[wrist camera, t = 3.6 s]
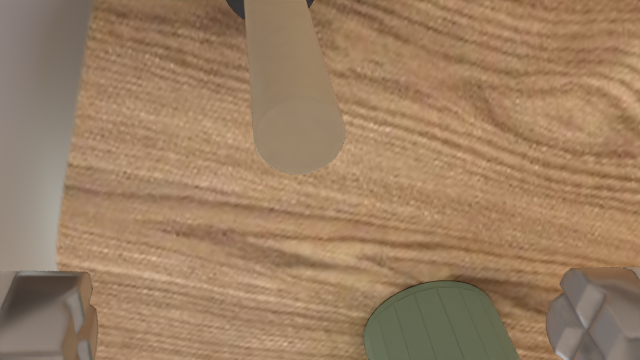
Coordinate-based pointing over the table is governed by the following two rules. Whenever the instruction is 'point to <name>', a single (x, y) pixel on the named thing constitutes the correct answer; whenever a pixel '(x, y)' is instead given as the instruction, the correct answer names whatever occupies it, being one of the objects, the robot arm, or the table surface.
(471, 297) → the jar
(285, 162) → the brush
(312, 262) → the table surface
